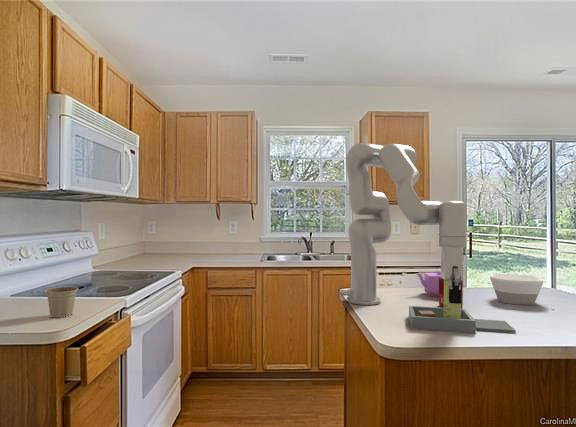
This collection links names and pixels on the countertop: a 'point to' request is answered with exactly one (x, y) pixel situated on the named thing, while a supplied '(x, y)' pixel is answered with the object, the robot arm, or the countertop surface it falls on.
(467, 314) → the bin
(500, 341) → the countertop surface
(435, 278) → the teapot
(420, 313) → the walnut block
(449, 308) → the tube
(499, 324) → the trivet
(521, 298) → the bowl
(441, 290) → the canned food
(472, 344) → the countertop surface
